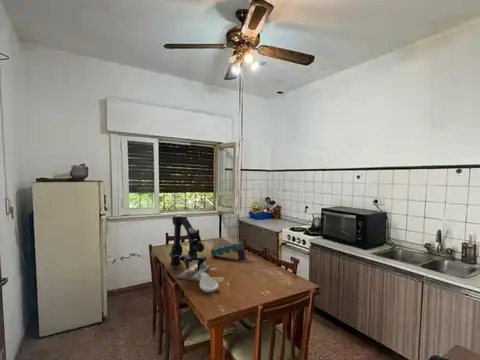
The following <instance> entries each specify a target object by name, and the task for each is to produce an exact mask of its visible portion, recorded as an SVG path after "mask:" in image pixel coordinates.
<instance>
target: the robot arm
mask: <svg viewBox="0 0 480 360" xmlns="http://www.w3.org/2000/svg"><path fill="white" fill-rule="evenodd" d="M171 220H172V224H173V226H174V234H173V245H172V246H171V250H170V251H169V254H168V256H169V257H170V263H169V264H170V265H172V266H179V265H180V264H181V263H184V265H185V267H186V269H187V270H188V269H189V267H190V263H192V262H193V261H197V260H198V263H197V262H196V264H198V271H199V269H200V266H201V264H202V263H204V262H205V263H206V261H207V257H206V256H200V257H199V255H198V253H202V252H204V250H205V246H204V244H202V243H203V242H202V239H201V236H200V234H199V232H198V231H197V229H195V228H194V227H193V226H192V224H191V223H190V222H189V219H188V216H186V215H182V214H181V215H174V216H173V217H172V219H171ZM182 226H183V228H184V230H185V231H186V237H187V239H188V241H187V242H188V244H189V246H188V247H189V248H188V253H187V254H183V246H182V245H181V232H182ZM182 254H183V255H182Z"/></svg>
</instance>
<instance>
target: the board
mask: <svg viewBox="0 0 480 360" xmlns="http://www.w3.org/2000/svg"><path fill="white" fill-rule="evenodd" d="M196 264H197V263H193V264H192V265H191V266H189V269H188V270H187V268H186V269H185V270H184V271H183V272H181V273H180V274H178V275H177V276H176V279H180V280H189V281H197V276H198V274H199V273H203V272H205V273H206V272H207V271H208V270H209V269H210V268H211V267H212V266H211V265H210V264H205V266H203V265H202V267H200V269H199V271H198V270H197V271H195V272H194V273H193V274H191V275H190V276H189V277H185V273H186V272H187V271H189V270H190V269H191V268H192V267H194V266H195V265H196Z"/></svg>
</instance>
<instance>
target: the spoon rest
mask: <svg viewBox="0 0 480 360" xmlns="http://www.w3.org/2000/svg"><path fill="white" fill-rule="evenodd" d="M196 281H197V282H199V288H200V289H201V291H203V292H204V293H213V292H214V291H216V290H217V289H218V288H219V283H218V281H216V280H215V279H214V278H213V277H211V276H210V275H209V274H207V273H206V272H203V273H199V274H198V276H197V280H196Z"/></svg>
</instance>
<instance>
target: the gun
mask: <svg viewBox="0 0 480 360" xmlns="http://www.w3.org/2000/svg"><path fill="white" fill-rule="evenodd" d="M231 252H234V253H235V254H237V257H238V259H237V260H238V261H241V260H245V259H246V257H247V256H246V252H245V246H244V243H243V242H242V241H240V242H234V243H231V244H224V245H219V246H216V247H212V248H211V249H210V254H211V256H212V258H214V257H218V256H222V255H224V254H229V253H231Z"/></svg>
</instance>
